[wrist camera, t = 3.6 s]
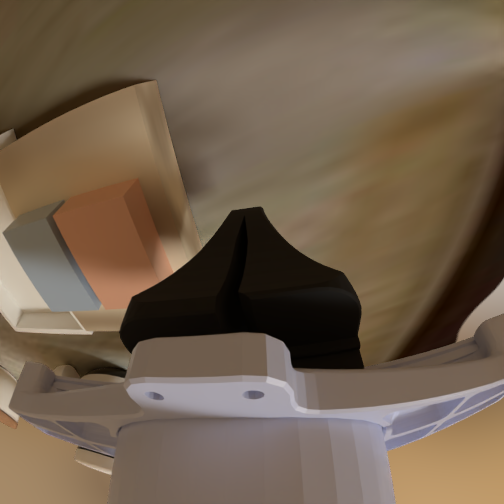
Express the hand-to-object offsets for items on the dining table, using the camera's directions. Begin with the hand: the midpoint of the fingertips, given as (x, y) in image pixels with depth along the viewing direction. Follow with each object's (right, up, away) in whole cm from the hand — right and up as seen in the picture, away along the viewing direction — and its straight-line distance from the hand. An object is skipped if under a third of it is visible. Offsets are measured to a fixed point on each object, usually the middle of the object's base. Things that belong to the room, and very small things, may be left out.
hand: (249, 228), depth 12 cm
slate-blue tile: (-11, -1, +2) cm, 11 cm away
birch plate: (-8, +1, +4) cm, 9 cm away
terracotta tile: (-6, 0, +1) cm, 6 cm away
